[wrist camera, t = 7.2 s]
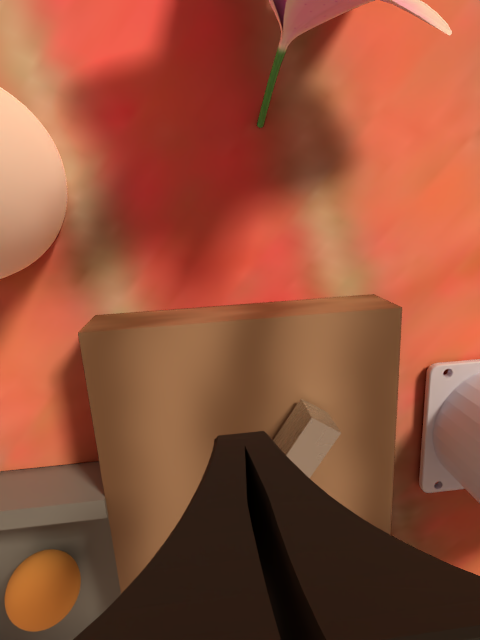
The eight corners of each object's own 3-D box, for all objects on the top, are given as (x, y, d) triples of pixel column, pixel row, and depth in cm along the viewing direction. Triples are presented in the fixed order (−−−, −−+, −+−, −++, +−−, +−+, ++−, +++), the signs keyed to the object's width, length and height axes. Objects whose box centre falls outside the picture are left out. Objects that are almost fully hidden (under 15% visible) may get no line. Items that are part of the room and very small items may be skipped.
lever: (337, 417, 19) (351, 438, 17) (179, 647, 21) (177, 685, 20) (290, 392, 18) (300, 412, 16) (134, 631, 21) (128, 670, 19)
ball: (-8, 585, 21) (49, 528, 23) (39, 631, 22) (92, 571, 23) (-18, 610, 18) (48, 541, 20) (37, 662, 19) (98, 591, 20)
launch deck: (373, 294, 21) (402, 307, 18) (364, 599, 26) (384, 648, 23) (95, 315, 20) (77, 332, 17) (143, 630, 25) (136, 685, 22)
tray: (117, 459, 22) (104, 499, 19) (147, 654, 25) (139, 715, 22) (-80, 479, 21) (-128, 525, 18) (-20, 678, 25) (-51, 745, 22)
